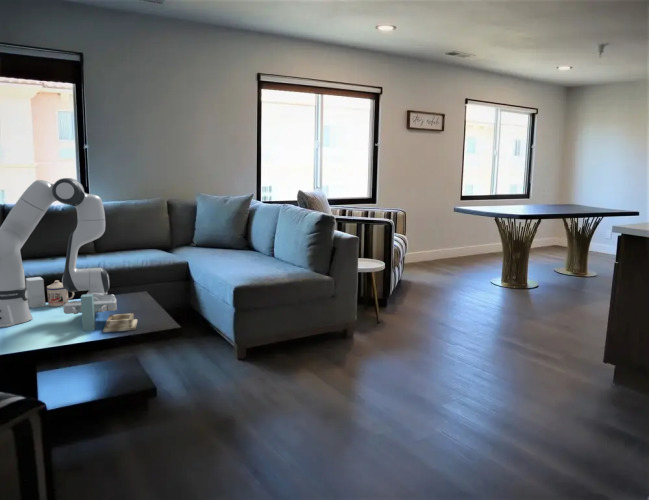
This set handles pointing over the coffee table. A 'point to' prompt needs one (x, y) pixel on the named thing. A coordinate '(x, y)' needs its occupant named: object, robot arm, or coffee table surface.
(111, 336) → the coffee table surface
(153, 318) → the coffee table surface
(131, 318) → the socket
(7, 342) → the coffee table surface
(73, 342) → the coffee table surface
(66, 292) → the teacup with lid
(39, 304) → the small box
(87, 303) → the post
